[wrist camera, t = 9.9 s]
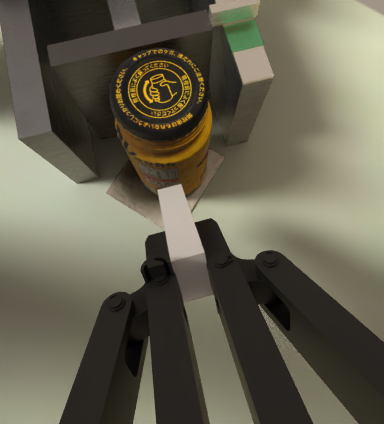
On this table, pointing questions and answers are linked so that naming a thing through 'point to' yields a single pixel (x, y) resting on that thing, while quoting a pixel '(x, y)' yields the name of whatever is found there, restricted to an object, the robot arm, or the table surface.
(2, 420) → the table surface
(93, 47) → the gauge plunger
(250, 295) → the robot arm
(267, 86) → the frame
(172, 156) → the condiment
